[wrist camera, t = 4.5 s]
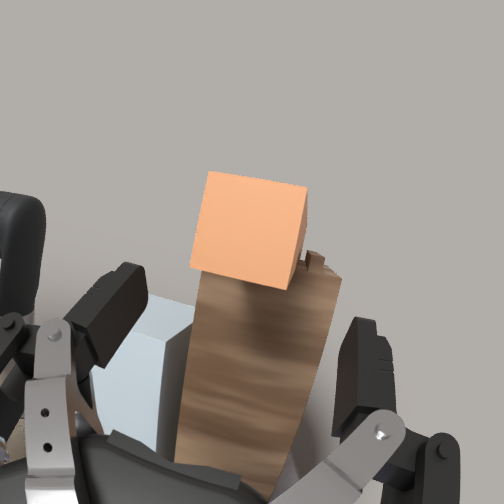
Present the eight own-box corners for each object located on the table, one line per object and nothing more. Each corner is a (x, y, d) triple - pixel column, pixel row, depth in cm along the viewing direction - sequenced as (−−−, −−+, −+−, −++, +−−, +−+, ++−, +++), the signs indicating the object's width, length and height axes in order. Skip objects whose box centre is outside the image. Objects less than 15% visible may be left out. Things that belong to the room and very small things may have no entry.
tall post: (251, 537, 23) (345, 262, 21) (169, 514, 24) (208, 233, 22) (264, 478, 35) (329, 254, 32) (198, 461, 36) (240, 236, 34)
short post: (154, 508, 25) (165, 342, 23) (85, 474, 26) (73, 307, 24) (185, 457, 36) (208, 310, 35) (126, 433, 38) (135, 289, 36)
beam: (286, 290, 12) (307, 187, 11) (189, 267, 12) (209, 170, 12) (300, 258, 35) (307, 225, 35) (266, 251, 36) (273, 218, 36)
